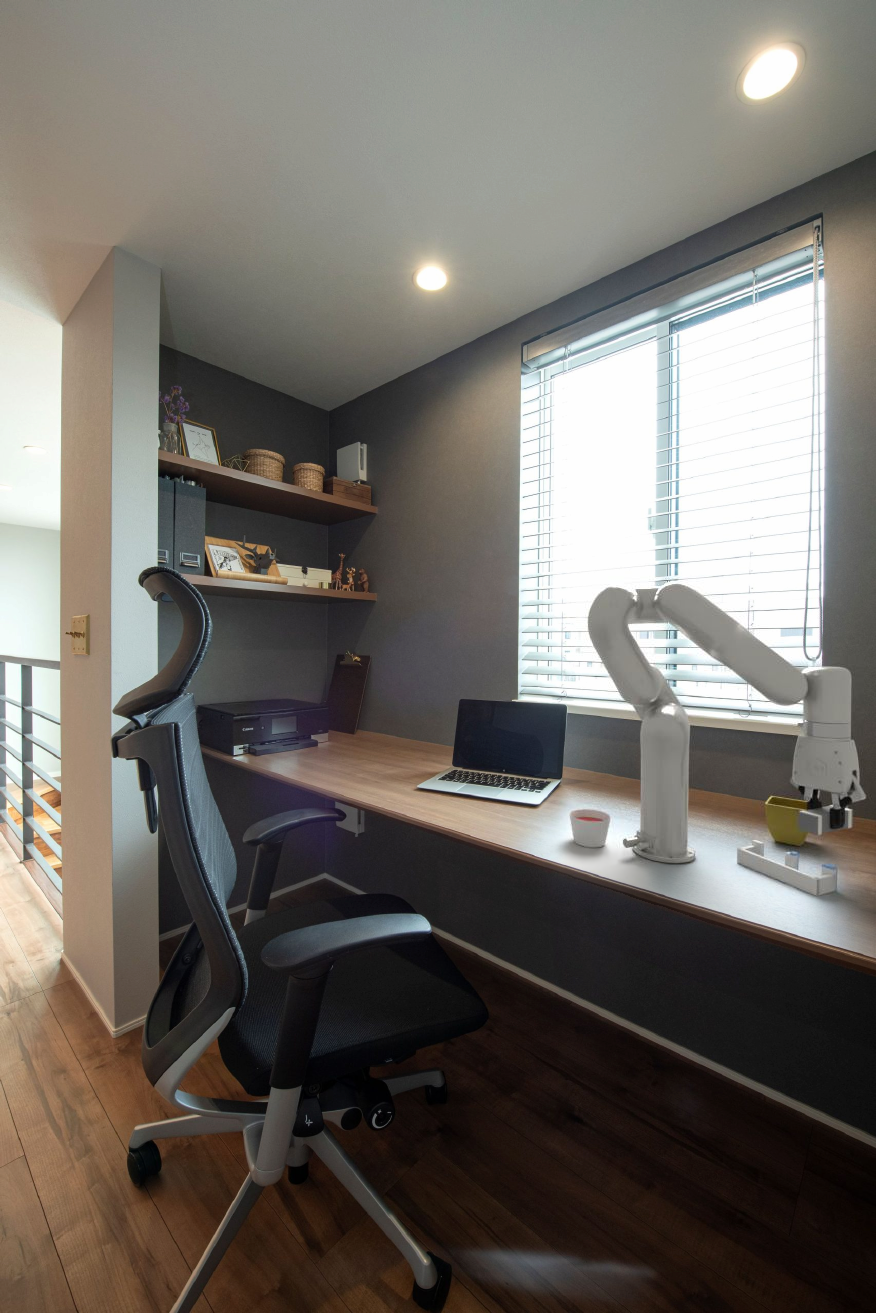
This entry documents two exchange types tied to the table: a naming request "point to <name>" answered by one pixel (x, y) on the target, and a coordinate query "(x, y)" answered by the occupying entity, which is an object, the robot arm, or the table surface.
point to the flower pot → (785, 820)
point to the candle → (589, 827)
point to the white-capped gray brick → (821, 820)
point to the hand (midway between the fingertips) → (825, 823)
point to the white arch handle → (788, 869)
